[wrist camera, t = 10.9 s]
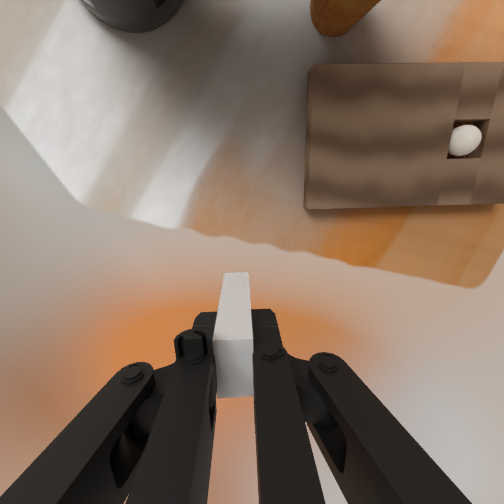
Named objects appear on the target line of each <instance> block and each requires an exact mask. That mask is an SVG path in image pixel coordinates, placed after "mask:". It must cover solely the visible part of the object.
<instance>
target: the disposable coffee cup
mask: <svg viewBox="0 0 504 504" xmlns="http://www.w3.org/2000/svg"><path fill="white" fill-rule="evenodd" d="M379 1H381V0H311V3H310V12H311V18H312V21H313V23H314V25H315V27H316V28H317V29H318V31H320V32H321V33H322V34H324V35H326V36H329V37H336V36H340V35H342V34H344V33H346V32H347V31H348V30H349V29H350V28H351V27H352V26H353V25H355V24H356V23H357V22H358V21H359V20H360V19H361V18H362V17H363V16H364V15H365V14H366V13H368V12H369V11H370V10H371V9H372V8H373V7H374V6H375V5H376V4H377V3H378V2H379Z"/></svg>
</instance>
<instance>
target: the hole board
mask: <svg viewBox="0 0 504 504" xmlns="http://www.w3.org/2000/svg"><path fill="white" fill-rule="evenodd" d="M472 122H474V124H473V126H475V127H477V128H478V129H479V130H480V131H481V135H482V138H481V142H480V144H479V145H478V147H477V148H476V149H475V150H473V151H472V152H471V153H469V154H467V156H466V158H465V159H447V154H448V149H449V144H450V139H451V134H452V129H453V124H454V123H472ZM503 203H504V62H464V63H381V64H314V65H313V66H312V68H311V69H310V71H309V76H308V102H307V128H306V154H305V181H304V208H306V209H336V208H370V207H403V206H436V205H470V204H503Z"/></svg>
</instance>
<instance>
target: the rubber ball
mask: <svg viewBox="0 0 504 504" xmlns="http://www.w3.org/2000/svg"><path fill="white" fill-rule="evenodd" d="M481 138H482V135H481V131H480V130H479V129H478V128H477V127H475V126H473V125H463V126H459V127H457V128H455V129H454V130H452V134H451V139H450V144H449V149H448V153H449V154H450V155H453V156H463V155H466V154H469V153H471V152H472V151H473V150H475V149H476V148H477V147H478V145H479V144H480V142H481Z"/></svg>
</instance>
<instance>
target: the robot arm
mask: <svg viewBox="0 0 504 504" xmlns="http://www.w3.org/2000/svg"><path fill="white" fill-rule="evenodd" d="M80 1H81V2H82V3H83V4H84V5H85V6H86V7H87V8H88V9H89V10H90V11H91V12H92V13H93V14H94V15H95V16H96V17H97V18H99V19H100V20H101V21H103V22H104V23H106V24H108V25H110V26H112V27H114V28H117V29H119V30H123V31H127V32H145V31H149V30H153V29H155V28H157V27H159V26H161V25H163V24H164V23H166V22H167V21H168V20H169V19H170V18H171V17H172V16H173V15H174V14H175V13H176V12H177V10H178V9H179V7H180V6H181V4H182V2H183V0H80ZM174 346H175V353H176V361H175V363H173V364H171V365H168V366H166V367H163V368H159V369H156V370H153V367H152V366H151V365H150V364H149V363H146V362H137V363H133V364H129V365H128V366H126V367H124V368H122V369H121V370H120V371H118V372H117V373H116V374H115V375H114V376H113V377H112V378H111V379H110V380H109V381H108V383H107V384H106V385H105V386H104V387H103V388H102V389H101V390H100V391H99V392H98V393H97V394H96V395H95V396H94V397H93V399H92V400H91V401H90V402H89V403H88V404H87V405H86V406H85V407H84V408H83V409H82V410H81V412H80V413H79V414H78V415H77V416H76V417H75V418H74V419H73V420H72V421H71V422H70V423H69V424H68V425H67V426H66V427H65V428H64V430H63V431H62V432H61V433H60V434H59V435H58V436H57V437H56V438H55V439H54V440H53V441H52V442H51V443H50V444H49V446H48V447H47V448H46V449H45V450H44V451H43V452H42V453H41V454H40V455H39V456H38V457H37V458H36V460H34V461H33V463H32V464H31V465H30V466H29V467H28V468H27V469H26V470H25V471H24V472H23V473H22V474H21V475H20V477H19V478H18V479H17V480H16V481H15V482H14V483H13V484H12V485H11V486H10V487H9V488H8V489H7V490H6V491H5V492H4V494H3V495H2V496H1V497H0V504H123V503H124V501H125V500H126V498H127V496H128V494H129V496H128V499H127V501H126V504H207V498H208V489H209V479H210V469H211V459H212V449H213V440H214V430H215V421H216V393H217V398H227V397H244V396H254V416H255V417H254V418H255V434H256V451H257V452H256V454H257V473H258V493H259V504H325V500H324V496H323V492H322V488H321V484H320V480H319V476H318V472H317V468H316V465H315V461H314V456H313V452H312V449H311V444H310V441H309V436H308V432H307V429H306V425H305V422H307V425H308V427H309V429H310V431H311V433H312V435H313V437H314V439H315V441H316V443H317V444H318V446H319V448H320V450H321V452H322V454H323V456H324V458H325V460H326V462H327V464H328V466H329V468H330V470H331V472H332V474H333V476H334V477H335V479H336V481H337V483H338V485H339V487H340V489H341V491H342V493H343V495H344V497H345V499H346V501H347V502H348V504H472V503H471V502H470V501H469V500H468V499H467V498H466V497H465V495H464V494H463V493H462V492H461V491H460V490H459V489H458V487H457V486H456V485H455V484H454V483H453V482H452V481H451V480H450V479H449V477H448V476H447V475H446V474H445V473H444V472H443V471H442V470H441V468H440V467H439V466H438V465H437V464H436V463H435V462H434V461H433V460H432V459H431V457H430V456H429V455H428V454H427V453H426V452H425V451H424V450H423V448H421V446H420V445H419V444H418V443H417V442H416V441H415V439H414V438H413V437H412V436H411V435H410V434H409V433H408V432H407V431H406V430H405V428H404V427H403V426H402V425H401V424H400V423H399V422H398V421H397V419H396V418H395V417H394V416H393V415H392V414H391V413H390V412H389V410H388V409H387V408H386V407H385V406H384V405H383V404H382V403H381V401H380V400H379V399H378V398H377V397H376V396H375V395H374V394H373V393H372V392H371V391H370V389H369V388H368V387H367V386H366V385H365V384H364V383H363V382H362V380H361V379H360V378H359V377H358V376H357V375H356V374H355V373H354V371H353V370H352V369H351V368H350V367H349V366H348V365H347V363H346V362H344V360H342V359H341V358H340V357H338V356H336V355H334V354H332V353H326V352H322V353H317V354H314V355H313V356H312V357H311V358H310V360H309V361H307V360H301V359H298V358H295V357H293V356H290V355H289V354H288V353H287V351H286V350H285V348H283V345H282V341H281V337H280V332H279V329H278V324H277V320H276V316H275V313H274V312H273V311H272V310H271V309H251V302H250V288H249V274H248V272H237V273H224V278H223V284H222V289H221V295H220V301H219V307H218V312H201V313H200V314H199V315H198V316H197V317H196V318H195V320H194V324H193V327H192V329H189V330H186V331H183V332H181V333H180V334H179V335H177V336H176V338H175V339H174Z"/></svg>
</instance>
